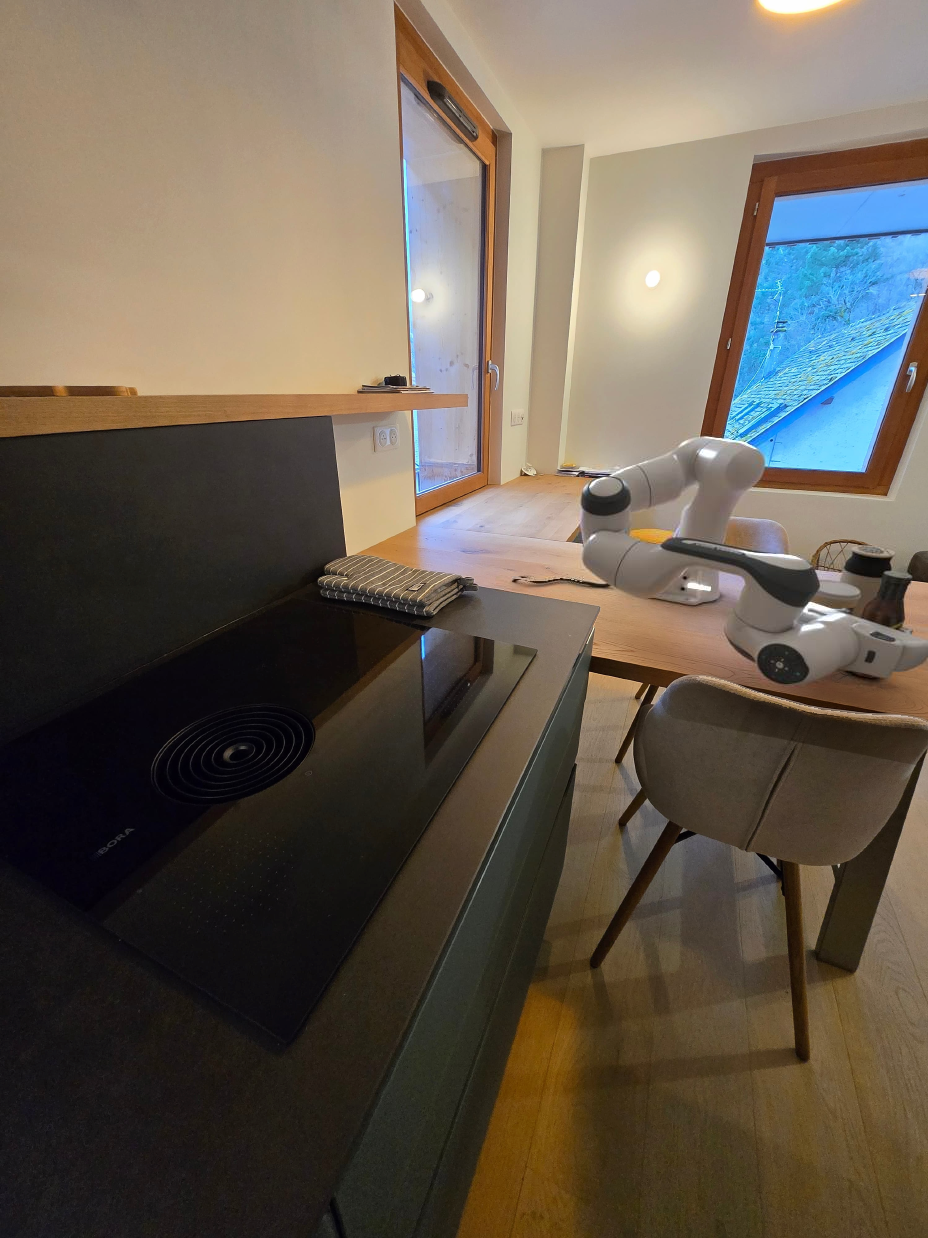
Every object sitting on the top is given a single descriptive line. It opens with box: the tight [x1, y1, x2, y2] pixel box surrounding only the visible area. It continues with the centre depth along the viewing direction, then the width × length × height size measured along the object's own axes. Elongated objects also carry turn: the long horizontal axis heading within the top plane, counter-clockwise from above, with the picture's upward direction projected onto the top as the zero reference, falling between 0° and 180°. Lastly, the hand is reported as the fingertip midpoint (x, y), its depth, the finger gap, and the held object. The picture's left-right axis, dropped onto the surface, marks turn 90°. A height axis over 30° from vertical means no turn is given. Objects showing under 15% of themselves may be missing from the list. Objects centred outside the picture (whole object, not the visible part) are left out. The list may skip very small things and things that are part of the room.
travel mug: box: [838, 544, 897, 618], centre depth 109 cm, size 8×8×18 cm
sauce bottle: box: [848, 570, 913, 679], centre depth 91 cm, size 7×6×20 cm
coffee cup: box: [810, 579, 861, 615], centre depth 105 cm, size 9×9×12 cm
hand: (876, 622), depth 90 cm, fingers open, 8 cm apart
